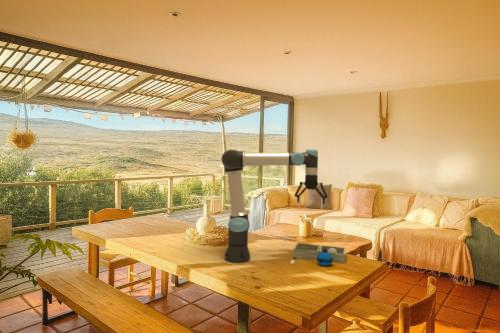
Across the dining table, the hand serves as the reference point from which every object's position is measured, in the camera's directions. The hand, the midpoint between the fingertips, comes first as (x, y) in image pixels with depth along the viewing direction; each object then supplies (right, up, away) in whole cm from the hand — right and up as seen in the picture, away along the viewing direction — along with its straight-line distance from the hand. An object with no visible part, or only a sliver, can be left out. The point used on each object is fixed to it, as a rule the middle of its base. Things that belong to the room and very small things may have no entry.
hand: (310, 208), depth 208 cm
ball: (+12, -29, -7) cm, 32 cm away
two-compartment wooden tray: (+4, -29, -5) cm, 30 cm away
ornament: (+4, -30, -20) cm, 36 cm away
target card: (-10, -29, -14) cm, 34 cm away
